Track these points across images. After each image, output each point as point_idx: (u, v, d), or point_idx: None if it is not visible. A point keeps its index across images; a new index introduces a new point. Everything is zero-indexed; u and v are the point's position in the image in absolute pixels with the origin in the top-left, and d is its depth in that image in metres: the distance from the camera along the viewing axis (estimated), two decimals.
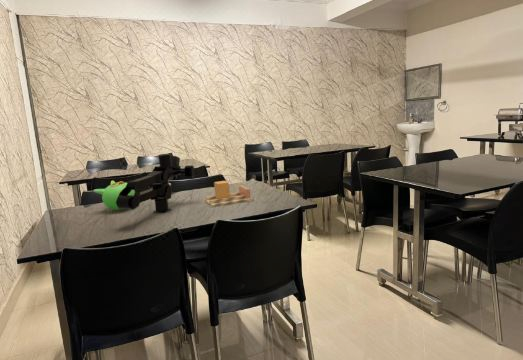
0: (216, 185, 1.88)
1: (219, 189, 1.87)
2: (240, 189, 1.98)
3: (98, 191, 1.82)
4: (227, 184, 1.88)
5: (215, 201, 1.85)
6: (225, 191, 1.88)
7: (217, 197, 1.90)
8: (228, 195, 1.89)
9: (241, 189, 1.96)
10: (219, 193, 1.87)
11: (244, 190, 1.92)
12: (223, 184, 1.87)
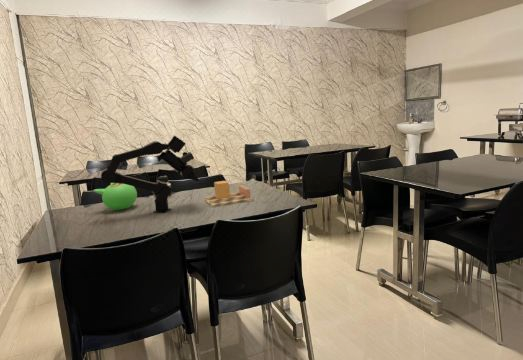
0: (216, 185, 1.88)
1: (219, 189, 1.87)
2: (240, 189, 1.98)
3: (98, 191, 1.82)
4: (227, 184, 1.88)
5: (215, 201, 1.85)
6: (225, 191, 1.88)
7: (217, 197, 1.90)
8: (228, 195, 1.89)
9: (241, 189, 1.96)
10: (219, 193, 1.87)
11: (244, 190, 1.92)
12: (223, 184, 1.87)
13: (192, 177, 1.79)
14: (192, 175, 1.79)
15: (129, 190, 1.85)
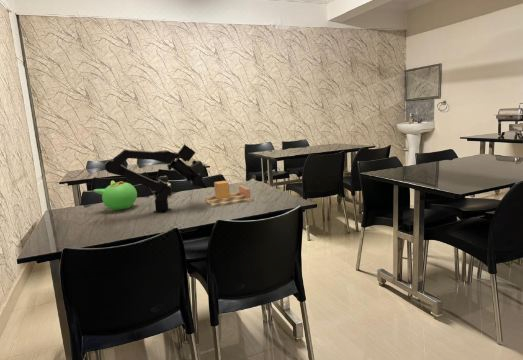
0: (216, 185, 1.88)
1: (219, 189, 1.87)
2: (240, 189, 1.98)
3: (98, 191, 1.82)
4: (227, 184, 1.88)
5: (215, 201, 1.85)
6: (225, 191, 1.88)
7: (217, 197, 1.90)
8: (228, 195, 1.89)
9: (241, 189, 1.96)
10: (219, 193, 1.87)
11: (244, 190, 1.92)
12: (223, 184, 1.87)
13: (200, 184, 1.84)
14: (200, 182, 1.84)
15: (129, 190, 1.85)
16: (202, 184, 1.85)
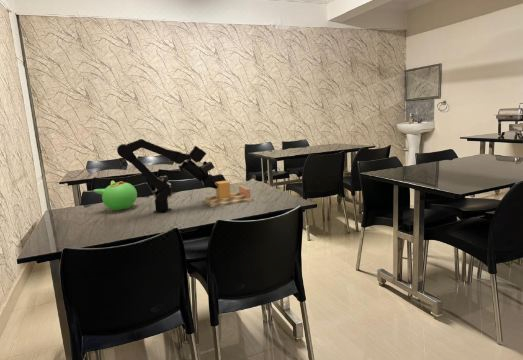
0: (217, 185, 1.88)
1: (220, 189, 1.87)
2: (240, 189, 1.98)
3: (98, 191, 1.82)
4: (228, 184, 1.88)
5: (215, 201, 1.85)
6: (227, 191, 1.89)
7: (218, 197, 1.90)
8: (229, 195, 1.90)
9: (241, 189, 1.96)
10: (220, 193, 1.87)
11: (244, 190, 1.92)
12: (224, 184, 1.88)
13: (211, 185, 1.86)
14: (211, 183, 1.86)
15: (129, 190, 1.85)
16: (213, 185, 1.87)
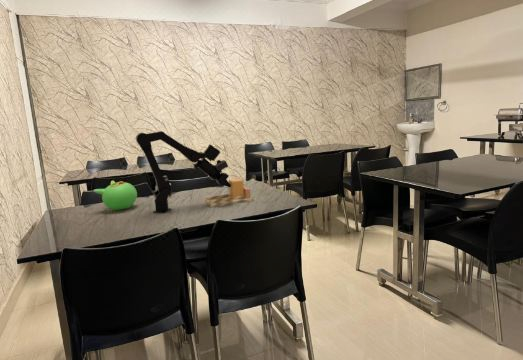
0: (231, 183, 1.91)
1: (234, 187, 1.90)
2: None
3: (98, 191, 1.82)
4: (241, 182, 1.91)
5: (215, 201, 1.85)
6: (240, 189, 1.91)
7: (231, 195, 1.93)
8: (242, 193, 1.92)
9: None
10: (234, 191, 1.90)
11: (244, 190, 1.92)
12: (238, 182, 1.90)
13: (225, 183, 1.89)
14: (225, 181, 1.89)
15: (129, 190, 1.85)
16: (226, 183, 1.90)
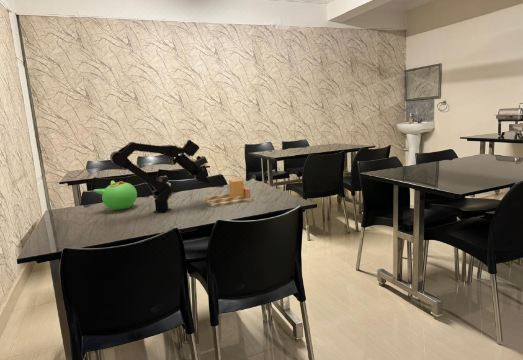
0: (231, 183, 1.91)
1: (234, 187, 1.90)
2: None
3: (98, 191, 1.82)
4: (242, 182, 1.91)
5: (215, 201, 1.85)
6: (240, 189, 1.91)
7: (231, 195, 1.93)
8: (243, 193, 1.92)
9: None
10: (234, 191, 1.90)
11: (244, 190, 1.92)
12: (238, 182, 1.90)
13: (204, 180, 1.86)
14: (204, 178, 1.86)
15: (129, 190, 1.85)
16: (206, 179, 1.86)
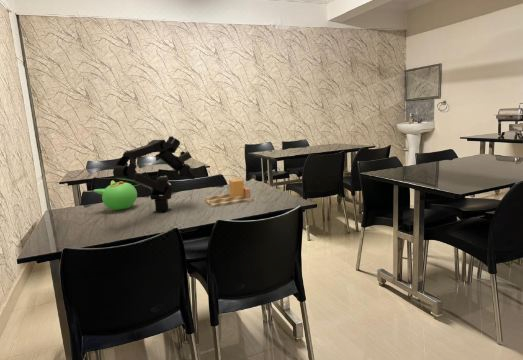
0: (231, 183, 1.91)
1: (234, 187, 1.90)
2: None
3: (98, 191, 1.82)
4: (242, 182, 1.91)
5: (215, 201, 1.85)
6: (240, 189, 1.91)
7: (231, 195, 1.93)
8: (243, 193, 1.92)
9: None
10: (234, 191, 1.90)
11: (244, 190, 1.92)
12: (238, 182, 1.90)
13: (188, 175, 1.85)
14: (188, 173, 1.85)
15: (129, 190, 1.85)
16: (190, 175, 1.86)
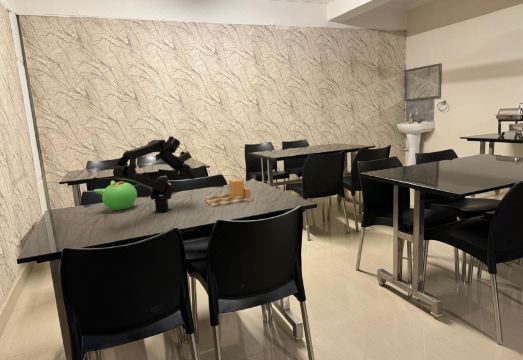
0: (231, 183, 1.91)
1: (234, 187, 1.90)
2: None
3: (98, 191, 1.82)
4: (242, 182, 1.91)
5: (215, 201, 1.85)
6: (240, 189, 1.91)
7: (231, 195, 1.93)
8: (243, 193, 1.92)
9: None
10: (234, 191, 1.90)
11: (244, 190, 1.92)
12: (238, 182, 1.90)
13: (188, 175, 1.85)
14: (188, 173, 1.85)
15: (129, 190, 1.85)
16: (190, 175, 1.86)
